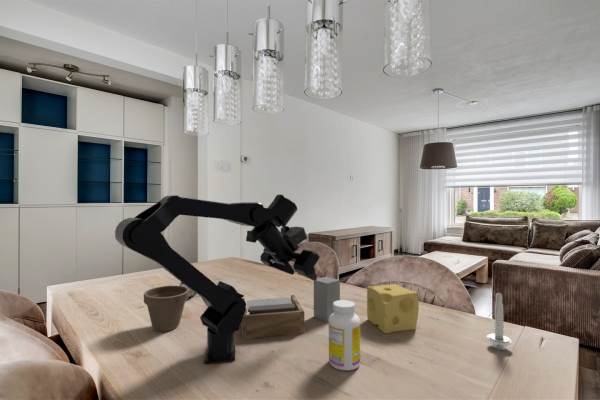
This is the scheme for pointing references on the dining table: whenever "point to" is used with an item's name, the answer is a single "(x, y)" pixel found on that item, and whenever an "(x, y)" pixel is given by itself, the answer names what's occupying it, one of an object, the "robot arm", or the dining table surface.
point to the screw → (499, 326)
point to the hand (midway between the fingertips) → (304, 276)
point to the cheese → (392, 307)
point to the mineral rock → (189, 290)
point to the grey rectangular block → (325, 297)
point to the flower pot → (166, 306)
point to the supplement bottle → (344, 336)
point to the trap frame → (274, 322)
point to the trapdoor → (270, 305)
